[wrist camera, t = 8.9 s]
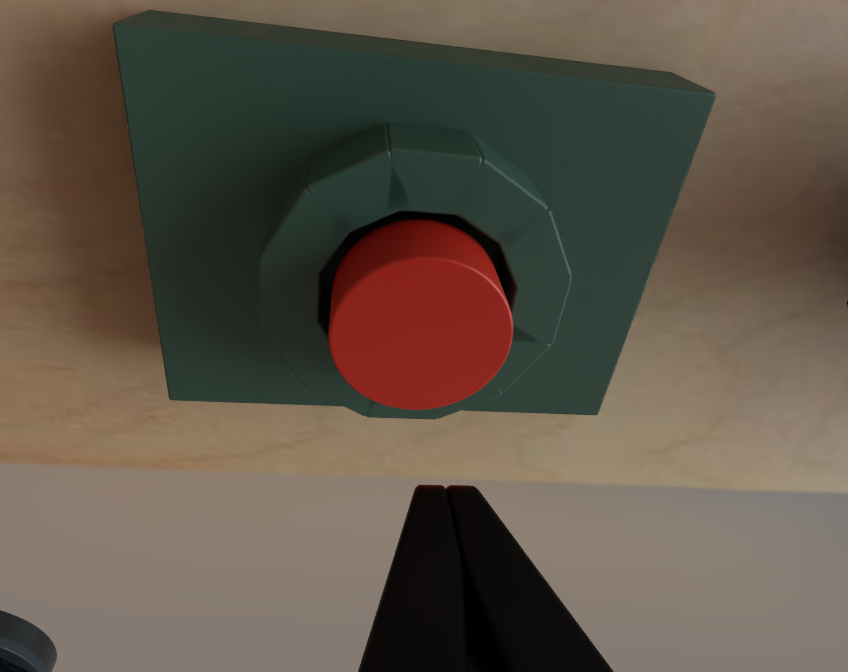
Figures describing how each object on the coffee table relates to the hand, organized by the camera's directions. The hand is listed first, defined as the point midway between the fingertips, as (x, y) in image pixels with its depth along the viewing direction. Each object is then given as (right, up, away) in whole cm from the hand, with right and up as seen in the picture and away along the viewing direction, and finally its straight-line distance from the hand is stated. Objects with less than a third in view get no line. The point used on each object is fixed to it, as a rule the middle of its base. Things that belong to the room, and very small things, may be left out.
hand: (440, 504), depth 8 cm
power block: (-1, +5, +8) cm, 9 cm away
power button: (0, +3, +5) cm, 6 cm away
